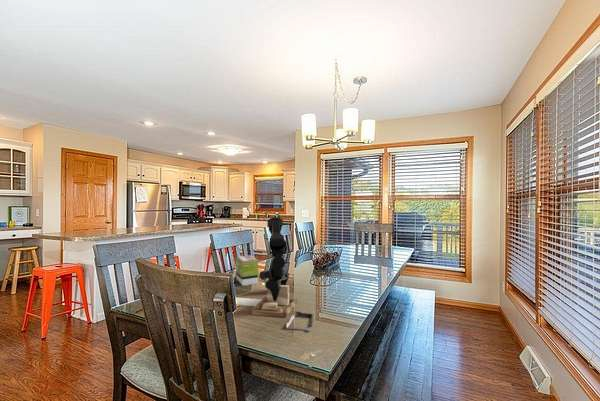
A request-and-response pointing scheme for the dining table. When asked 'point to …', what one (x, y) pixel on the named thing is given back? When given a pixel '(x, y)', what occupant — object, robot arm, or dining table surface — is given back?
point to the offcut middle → (273, 309)
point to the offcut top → (269, 306)
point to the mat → (248, 301)
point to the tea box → (247, 270)
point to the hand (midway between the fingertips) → (278, 297)
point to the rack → (270, 313)
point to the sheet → (279, 296)
